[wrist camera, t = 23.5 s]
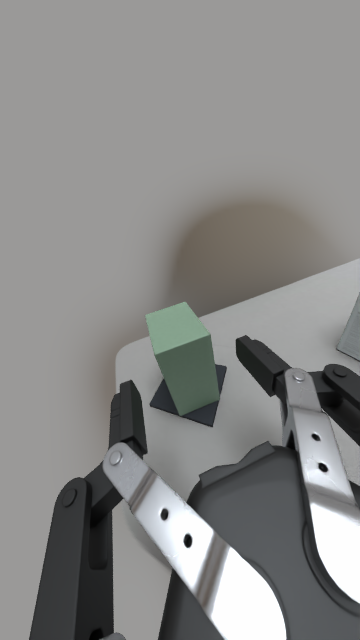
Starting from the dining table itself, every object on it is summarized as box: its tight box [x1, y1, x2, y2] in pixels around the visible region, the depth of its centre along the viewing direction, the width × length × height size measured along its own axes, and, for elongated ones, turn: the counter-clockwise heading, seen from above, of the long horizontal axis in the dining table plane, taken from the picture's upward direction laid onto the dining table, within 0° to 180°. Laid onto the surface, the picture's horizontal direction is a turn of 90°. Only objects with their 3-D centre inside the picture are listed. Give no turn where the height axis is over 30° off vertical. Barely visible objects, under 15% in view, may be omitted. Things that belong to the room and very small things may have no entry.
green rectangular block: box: [145, 302, 220, 416], centre depth 20 cm, size 7×5×10 cm
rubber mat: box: [150, 364, 227, 427], centre depth 22 cm, size 8×8×1 cm
